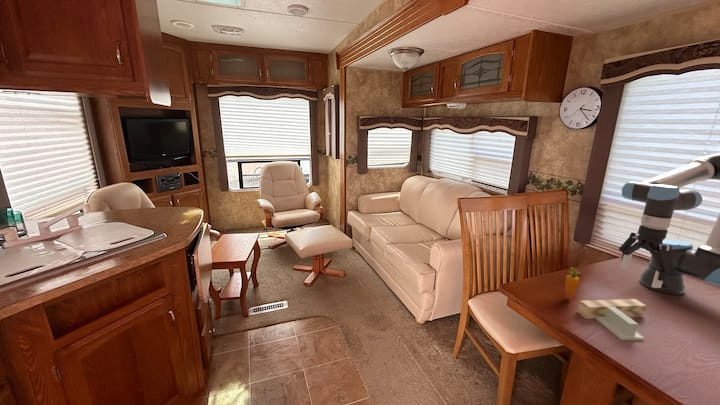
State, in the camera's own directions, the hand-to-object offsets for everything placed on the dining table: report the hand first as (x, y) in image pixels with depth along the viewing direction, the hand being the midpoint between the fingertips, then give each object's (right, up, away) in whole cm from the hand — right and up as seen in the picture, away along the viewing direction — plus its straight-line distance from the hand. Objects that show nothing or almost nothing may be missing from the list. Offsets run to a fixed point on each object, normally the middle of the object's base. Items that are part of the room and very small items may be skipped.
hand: (639, 277), depth 113 cm
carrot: (-17, -14, +15) cm, 27 cm away
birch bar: (-7, -17, +5) cm, 19 cm away
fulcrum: (-11, -18, -3) cm, 22 cm away
